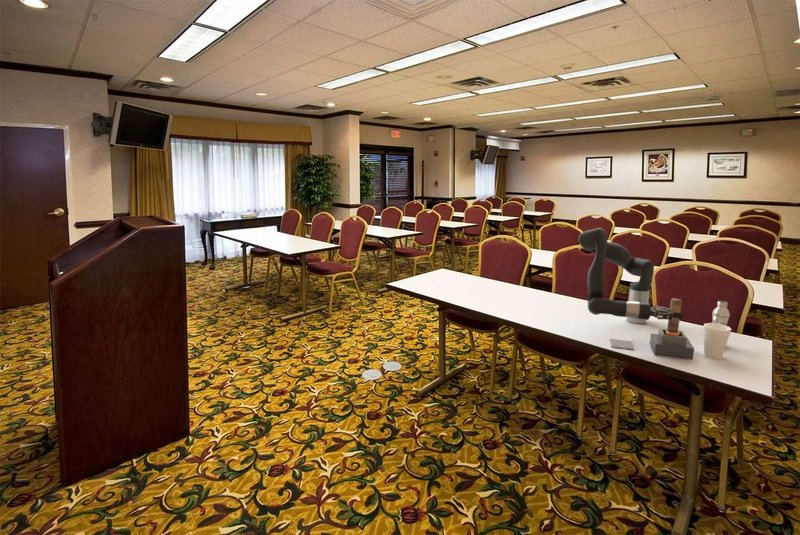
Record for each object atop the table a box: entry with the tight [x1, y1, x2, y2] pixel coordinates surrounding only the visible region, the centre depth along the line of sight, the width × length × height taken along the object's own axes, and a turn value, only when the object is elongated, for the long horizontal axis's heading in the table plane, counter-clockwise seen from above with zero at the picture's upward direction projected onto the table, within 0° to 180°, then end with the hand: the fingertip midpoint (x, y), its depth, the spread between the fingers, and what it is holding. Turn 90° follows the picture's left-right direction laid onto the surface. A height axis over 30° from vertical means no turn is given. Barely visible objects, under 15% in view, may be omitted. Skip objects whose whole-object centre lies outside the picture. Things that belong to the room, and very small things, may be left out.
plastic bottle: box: [711, 300, 731, 326], centre depth 200 cm, size 6×7×20 cm
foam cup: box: [702, 322, 732, 360], centre depth 187 cm, size 10×9×13 cm
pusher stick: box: [666, 298, 683, 333], centre depth 190 cm, size 4×4×14 cm
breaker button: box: [666, 330, 680, 336], centre depth 192 cm, size 5×5×2 cm
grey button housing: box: [649, 328, 695, 361], centre depth 193 cm, size 14×14×8 cm
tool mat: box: [609, 338, 635, 351], centre depth 201 cm, size 10×9×1 cm
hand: (682, 314), depth 189 cm, fingers closed on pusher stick, 4 cm apart
